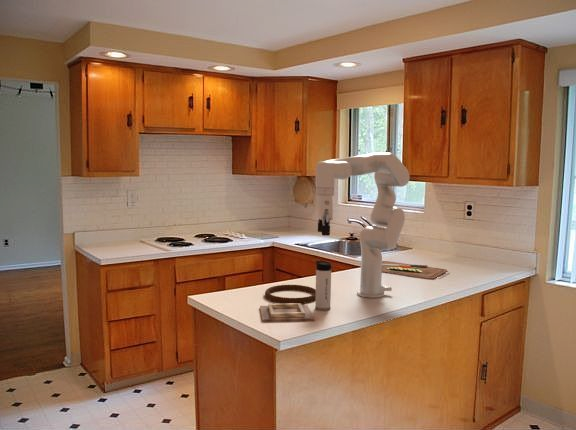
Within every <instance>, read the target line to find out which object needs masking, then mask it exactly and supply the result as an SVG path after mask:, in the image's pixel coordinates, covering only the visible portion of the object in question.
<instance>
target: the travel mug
mask: <svg viewBox="0 0 576 430" xmlns="http://www.w3.org/2000/svg"><path fill="white" fill-rule="evenodd" d="M315 264H316V268H315V289H316V300H315V303H314V304H315V307H314V308H315V309H316V310H318V311H328V310H329V311H330V310H331V301H332V300H331V298H332V297H331V296H332V295H331V294H332V293H331V292H332V263H331V262H330V261H325V260H315Z"/></svg>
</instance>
